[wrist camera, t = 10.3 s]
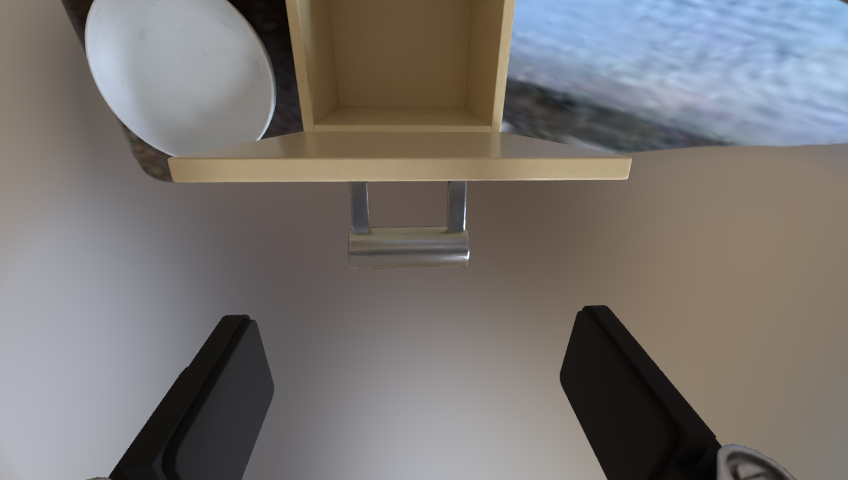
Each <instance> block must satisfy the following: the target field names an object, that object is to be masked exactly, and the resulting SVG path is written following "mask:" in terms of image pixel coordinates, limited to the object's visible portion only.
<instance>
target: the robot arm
mask: <svg viewBox="0 0 848 480" xmlns="http://www.w3.org/2000/svg"><path fill="white" fill-rule="evenodd" d="M560 382H561V385H562V388H563V390H564V392H565V394H566V396H567V398H568V400H569V402H570V404H571V406H572V408H573V410H574V412H575V414H576V416H577V418H578V420H579V422H580V424H581V426H582V428H583V430H584V433H585V435H586V437H587V439H588V441H589V443H590V445H591V447H592V449H593V451H594V453H595V455H596V457H597V459H598V461H599V463H600V465H601V467H602V469H603V471H604V473H605V476H606V478H607V479H608V480H796V479H795V478H794V477H793V476H792V475H791V474H790V473H789V472H788V471H787V470H786V469H785V468H783V467H782V466H781V465H780V464H778V463H777V462H776V461H774V460H773V459H772V458H770V457H768V456H766V455H765V454H763V453H761V452H759V451H757V450H755V449H752V448H749V447H747V446H743V445H737V444H730V445H725V446H723V447H722V446H721V445H720V444H719V442H718V441H717V440H716V439H715V438H716V436H715V435H714V433H713V432H712V431H711V430H710V429H709V427H708V426H707V425H706V424H705V423H704V421H703V420H702V419H701V418H700V417H699V415H698V414H697V413H696V412H695V411H694V410H693V408H692V407H691V406H690V405H689V403H688V402H687V401H686V400H685V399H684V397H682V395H681V394H680V393H679V392H678V390H677V389H676V388H675V387H674V385H673V384H672V383H671V382H670V381H669V379H668V378H667V377H666V376H665V375H664V373H663V372H662V371H661V370H660V369H659V367H658V366H657V365H656V364H655V363H654V361H653V360H652V359H651V358H650V357H649V355H648V354H647V353H646V352H645V350H644V349H643V348H642V347H641V346H640V344H639V343H638V342H637V341H636V340H635V338H634V337H633V336H632V335H631V334H630V332H629V331H628V330H627V329H626V328H625V326H624V325H623V324H622V323H621V322H620V320H619V319H618V318H617V317H616V316H615V314H614V313H613V312H612V311H611V310H610V309H609V308H608V307H607V306H605V305H598V306H597V305H596V306H585V307H584V308H583V309H582V311H579V312H578V313H577V316H576V319H575V322H574V326H573V329H572V333H571V336H570V340H569V343H568V347H567V350H566V354H565V357H564V361H563V364H562V368H561V371H560ZM273 393H274V383H273V380H272V377H271V373H270V369H269V366H268V362H267V358H266V355H265V351H264V347H263V344H262V340H261V337H260V333H259V329H258V326H257V323H256V321H255V320H251V319H250V317H249V316H248V315H226V316H224V317H223V318H222V319H221V320H220V322H219V323H218V325H217V326H216V327H215V329H214V330H213V332H212V333H211V335H210V336H209V338H208V339H207V341H206V342H205V343H204V345H203V346H202V348H201V349H200V351H199V352H198V354H197V355H196V356H195V358H194V359H193V361H192V362H191V364H190V365H189V366H188V367H187V368H185V369H184V370H183V371H182V373H181V374H180V375H179V377H178V378H177V380H176V381H175V382H174V384H173V385H172V387H171V388H170V390H169V391H168V392H167V394H166V396H165V397H164V398H163V400H162V401H161V402H160V404H159V405H158V407H157V408H156V410H155V411H154V412H153V414H152V415H151V417H150V418H149V420H148V421H147V423H146V424H145V425H144V427H143V428H142V430H141V431H140V433H139V434H138V435H137V437H136V438H135V440H134V441H133V442H132V444H131V445H130V447H129V448H128V450H127V451H126V453H125V454H124V455H123V457H122V458H121V460H120V461H119V463H118V464H117V465H116V467H115V468H114V470H113V471H112V472H111V474H110V475H109V477H108V478H105V477H104V478H103V477H96V478H92V479H88V480H241V479H242V477H243V474H244V471H245V469H246V466H247V464H248V461H249V458H250V456H251V453H252V450H253V448H254V445H255V442H256V440H257V437H258V435H259V432H260V429H261V427H262V424H263V421H264V419H265V416H266V413H267V411H268V408H269V406H270V403H271V400H272V397H273Z"/></svg>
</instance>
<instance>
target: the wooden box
mask: <svg viewBox="0 0 848 480" xmlns="http://www.w3.org/2000/svg"><path fill="white" fill-rule="evenodd" d="M286 7H287V15H288V22H289V29H290V36H291V43H292V50H293V57H294V64H295V71H296V78H297V85H298V92H299V99H300V106H301V113H302V120H303V127H304V131H358V132H501V123H502V114H503V105H504V96H505V88H506V79H507V70H508V61H509V52H510V43H511V35H512V26H513V17H514V8H515V0H286Z"/></svg>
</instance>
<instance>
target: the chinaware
mask: <svg viewBox="0 0 848 480" xmlns="http://www.w3.org/2000/svg"><path fill="white" fill-rule="evenodd" d="M85 47H86V54H87V59H88V63H89V67H90V70H91V73H92V76H93V78H94V80H95V83H96V85H97V87H98V89H99V91H100V93H101V94H102V96H103V98H104V99H105V101H106V102H107V104H108V105H109V107H110V108H111V109H112V111H113V112H114V113H115V114H116V116H117V117H118V118H119V119H120V120H121V121H122V122H123V123H124V124H125V125H126V126H127V127H128V128H129V129H130V130H131V131H132V132H133V133H135V134H136V135H137V136H138V137H140V138H141V139H142V140H144V141H145V142H147V143H148V144H150V145H152V146H153V147H155V148H157V149H159V150H161V151H163V152H165V153H167V154H169V155H172V156H175V157H176V156H181V155H186V154H191V153H196V152H201V151H206V150H211V149H216V148H221V147H226V146H231V145H236V144H242V143H247V142H252V141H257V140H259V139H260V138H261V137H262V136H263V134H264V133H265V131H266V129H267V127H268V126H269V123H270V121H271V119H272V116H273V112H274V108H275V102H276V81H275V75H274V70H273V66H272V63H271V60H270V57H269V55H268V52H267V50H266V48H265V46H264V44H263V42H262V41H261V39H260V37H259V36H258V34H257V33H256V31H255V30H254V28H253V27H252V26H251V24H250V23H249V22H248V21H247V19H246V18H245V17H244V16H243V15H242V14H241V13H240V12H239V11H238V10H237V9H236V8H235V7H234V6H233V5H232V4H231V3H230V2H229V1H228V0H94V1H93V3H92V5H91V8H90V10H89V13H88V17H87V21H86V27H85Z"/></svg>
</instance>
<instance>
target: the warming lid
mask: <svg viewBox="0 0 848 480" xmlns="http://www.w3.org/2000/svg"><path fill="white" fill-rule="evenodd" d="M631 161H632V158H631V157H628V156H622V155H617V154H612V153H607V152H602V151H597V150H592V149H587V148H581V147H576V146H571V145H566V144H561V143H556V142H550V141H545V140H540V139H535V138H530V137H525V136H520V135H514V134H509V133H504V132H358V131H302V132H297V133H292V134H287V135H282V136H277V137H272V138H267V139H262V140H257V141H252V142H247V143H242V144H236V145H231V146H226V147H221V148H216V149H211V150H206V151H201V152H196V153H191V154H186V155H181V156H176V157H171V158H168V164H169V168H170V172H171V176H172V180H173V181H174V182H299V181H300V182H302V181H349V188H350V202H351V216H352V228H351V229H350V232H349V240H348V252H349V253H348V254H349V262H350V266H351V268H352V269H380V268H381V269H382V268H383V269H385V268H425V267H426V268H428V267H429V268H430V267H465V266H467V264H468V260H469V252H470V251H469V248H470V245H469V235H468V230H467V228H466V227H465V211H466V193H467V181H469V180H625V179H627V178H628V175H629V171H630V166H631ZM368 181H448V197H447V198H448V199H447V226H425V227H424V226H423V227H422V226H420V227H371V224H370V204H369V186H368V185H369V184H368Z"/></svg>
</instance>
